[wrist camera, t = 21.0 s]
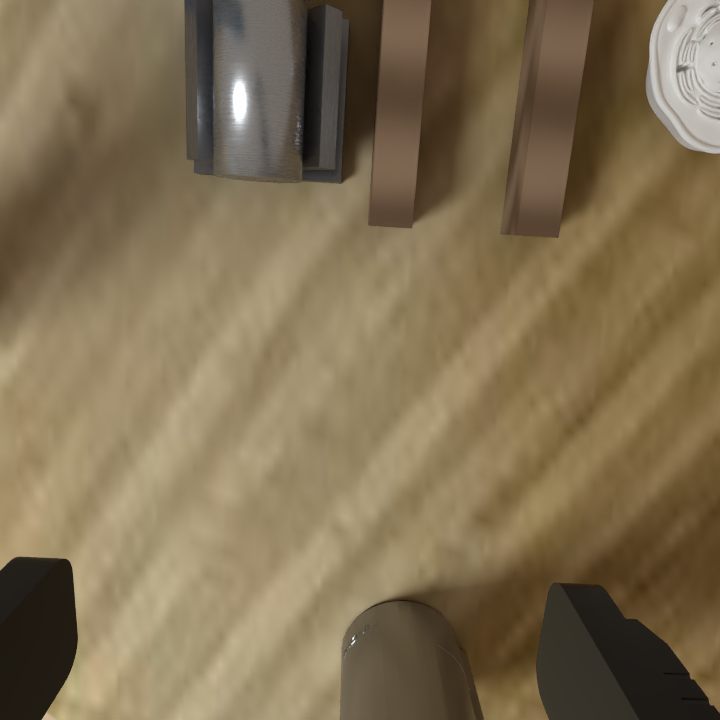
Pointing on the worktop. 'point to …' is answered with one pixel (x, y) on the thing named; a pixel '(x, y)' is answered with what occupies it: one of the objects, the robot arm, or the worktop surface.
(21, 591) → the robot arm
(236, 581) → the worktop surface
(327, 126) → the v block
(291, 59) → the grey metal cylinder
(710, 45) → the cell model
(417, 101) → the slotted block
